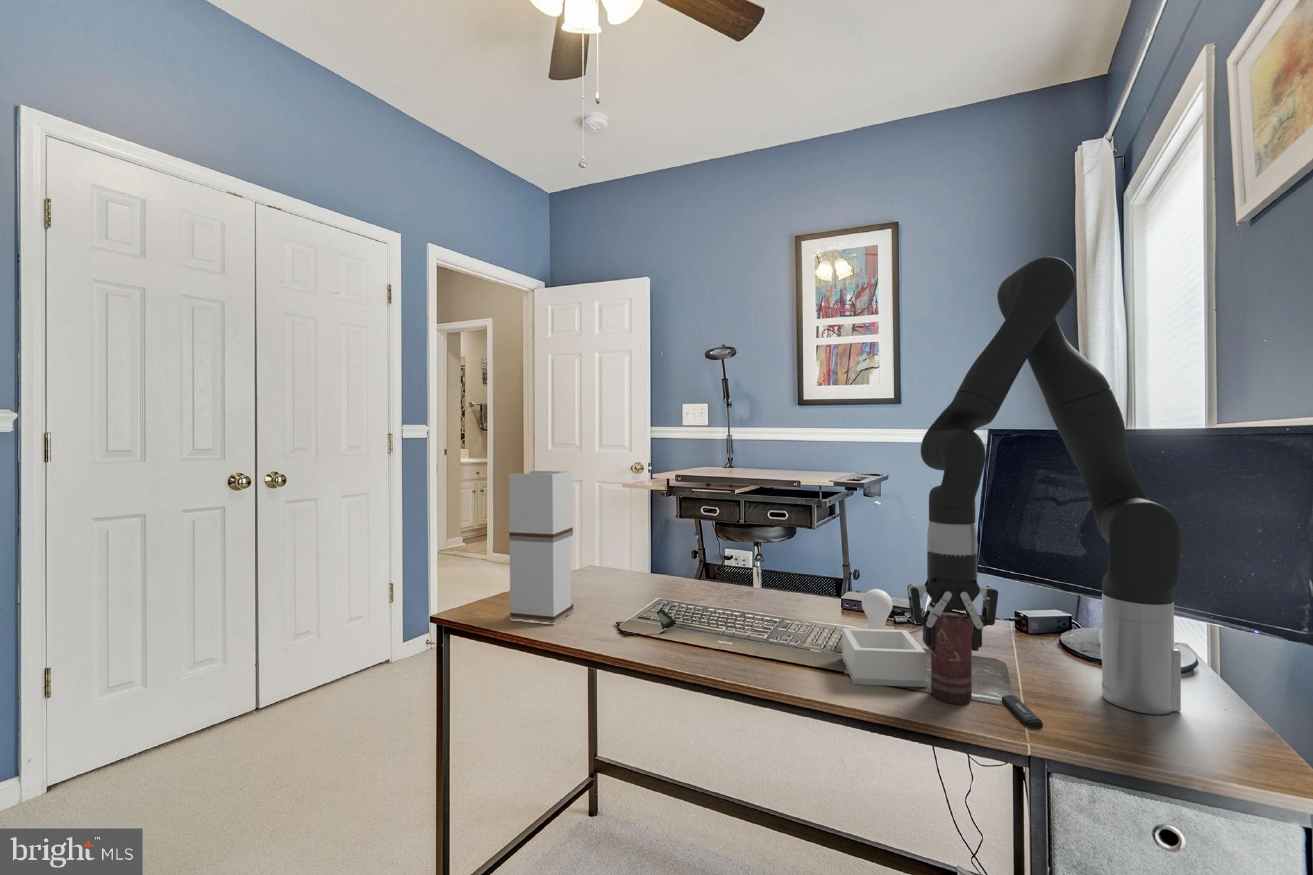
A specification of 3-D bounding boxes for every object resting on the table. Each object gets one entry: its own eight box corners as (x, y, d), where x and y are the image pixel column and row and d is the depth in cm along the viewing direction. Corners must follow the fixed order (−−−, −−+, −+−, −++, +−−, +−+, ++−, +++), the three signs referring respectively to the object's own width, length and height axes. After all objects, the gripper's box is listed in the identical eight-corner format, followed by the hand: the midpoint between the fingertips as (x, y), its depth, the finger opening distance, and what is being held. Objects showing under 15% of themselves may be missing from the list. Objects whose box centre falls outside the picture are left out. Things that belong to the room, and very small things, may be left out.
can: (978, 706, 100) (978, 620, 99) (936, 703, 101) (936, 618, 101) (967, 691, 105) (967, 609, 105) (927, 688, 107) (927, 607, 107)
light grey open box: (907, 660, 120) (907, 629, 119) (927, 687, 107) (927, 652, 107) (841, 658, 121) (841, 627, 121) (853, 684, 109) (853, 650, 109)
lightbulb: (863, 645, 128) (862, 592, 128) (860, 635, 134) (860, 585, 134) (894, 647, 127) (894, 594, 127) (890, 637, 133) (890, 586, 133)
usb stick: (1000, 702, 102) (1000, 693, 102) (1017, 703, 102) (1017, 694, 102) (1026, 729, 93) (1026, 719, 93) (1045, 731, 92) (1045, 720, 92)
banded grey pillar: (573, 612, 153) (572, 471, 153) (553, 625, 143) (552, 474, 143) (532, 608, 156) (531, 470, 156) (510, 621, 146) (508, 473, 146)
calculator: (615, 625, 143) (615, 612, 143) (663, 620, 147) (663, 608, 147) (625, 638, 134) (625, 624, 134) (676, 633, 138) (676, 619, 138)
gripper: (988, 545, 106) (988, 642, 106) (900, 544, 107) (900, 639, 108) (1007, 554, 98) (1007, 658, 98) (913, 552, 100) (913, 655, 100)
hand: (951, 648), depth 103 cm, fingers closed on can, 6 cm apart
